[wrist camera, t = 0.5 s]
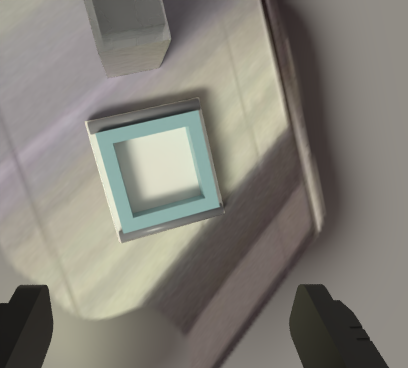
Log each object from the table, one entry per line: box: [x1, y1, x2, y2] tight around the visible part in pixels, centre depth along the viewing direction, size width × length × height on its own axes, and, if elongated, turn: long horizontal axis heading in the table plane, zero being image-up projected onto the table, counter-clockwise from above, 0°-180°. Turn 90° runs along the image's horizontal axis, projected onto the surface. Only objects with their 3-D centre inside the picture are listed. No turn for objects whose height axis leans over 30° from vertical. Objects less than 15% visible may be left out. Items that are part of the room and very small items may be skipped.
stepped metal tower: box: [84, 0, 171, 78], centre depth 26 cm, size 5×5×12 cm
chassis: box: [85, 97, 225, 243], centre depth 33 cm, size 12×11×3 cm
